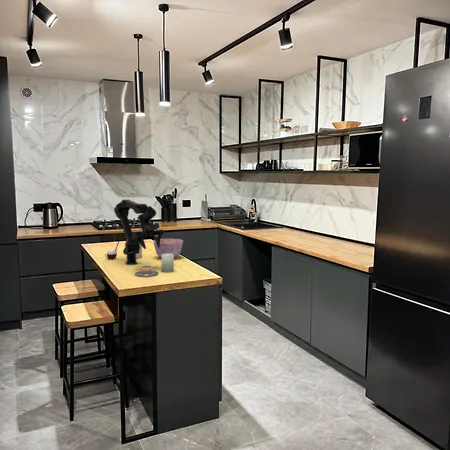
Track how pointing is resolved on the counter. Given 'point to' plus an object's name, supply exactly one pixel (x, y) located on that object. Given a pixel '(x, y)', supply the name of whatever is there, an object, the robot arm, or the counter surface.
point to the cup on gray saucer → (146, 272)
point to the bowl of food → (169, 246)
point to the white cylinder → (167, 262)
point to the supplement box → (139, 253)
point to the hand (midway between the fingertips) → (152, 248)
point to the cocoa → (112, 253)
